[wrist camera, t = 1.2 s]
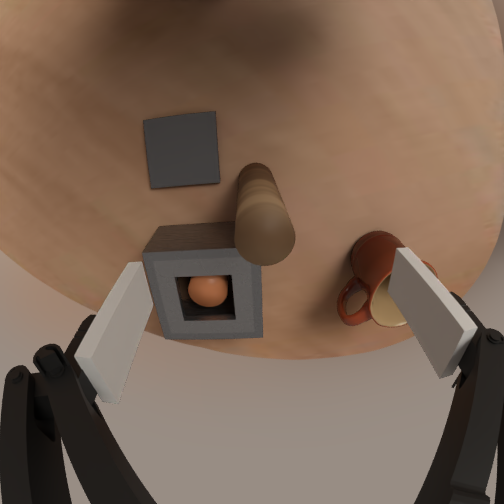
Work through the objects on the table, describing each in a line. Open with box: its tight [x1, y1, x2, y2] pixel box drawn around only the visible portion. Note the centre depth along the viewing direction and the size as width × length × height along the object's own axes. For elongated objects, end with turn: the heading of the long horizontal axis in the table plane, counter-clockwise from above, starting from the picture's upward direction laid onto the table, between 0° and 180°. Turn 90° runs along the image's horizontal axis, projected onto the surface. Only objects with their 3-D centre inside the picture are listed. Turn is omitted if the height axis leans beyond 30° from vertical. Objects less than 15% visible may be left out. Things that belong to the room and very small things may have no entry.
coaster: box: [143, 111, 220, 188], centre depth 31 cm, size 8×8×1 cm
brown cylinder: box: [235, 163, 295, 266], centre depth 26 cm, size 4×4×16 cm
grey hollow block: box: [142, 222, 263, 339], centre depth 35 cm, size 12×12×7 cm
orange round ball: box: [188, 275, 228, 307], centre depth 34 cm, size 4×4×3 cm
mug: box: [337, 231, 438, 327], centre depth 33 cm, size 12×9×10 cm
